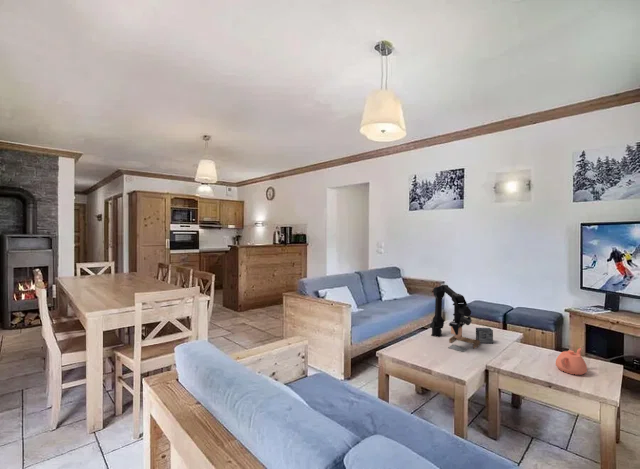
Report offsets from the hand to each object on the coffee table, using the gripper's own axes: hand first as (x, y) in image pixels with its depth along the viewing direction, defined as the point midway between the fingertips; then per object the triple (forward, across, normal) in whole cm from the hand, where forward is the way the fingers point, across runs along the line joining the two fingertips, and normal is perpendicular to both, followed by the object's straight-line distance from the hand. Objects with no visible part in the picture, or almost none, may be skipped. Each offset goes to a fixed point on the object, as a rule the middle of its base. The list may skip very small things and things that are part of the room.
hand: (458, 334), depth 232 cm
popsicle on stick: (+2, 0, +1) cm, 3 cm away
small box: (+11, +26, -10) cm, 30 cm away
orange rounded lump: (+10, +10, -64) cm, 66 cm away
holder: (+10, +13, 0) cm, 17 cm away
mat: (+10, 0, 0) cm, 10 cm away
